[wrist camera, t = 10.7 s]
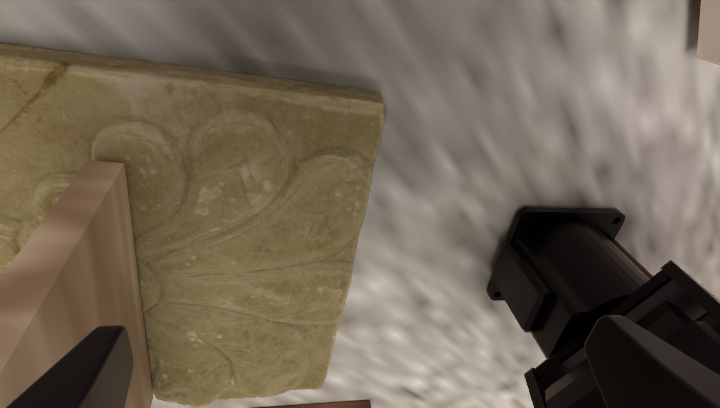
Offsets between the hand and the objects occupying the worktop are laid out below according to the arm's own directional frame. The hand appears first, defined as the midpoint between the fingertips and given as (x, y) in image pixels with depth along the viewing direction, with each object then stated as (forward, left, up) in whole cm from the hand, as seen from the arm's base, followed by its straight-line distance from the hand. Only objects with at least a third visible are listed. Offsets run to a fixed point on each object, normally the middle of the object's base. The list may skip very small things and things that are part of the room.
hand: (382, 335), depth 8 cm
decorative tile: (+8, +8, -14) cm, 18 cm away
